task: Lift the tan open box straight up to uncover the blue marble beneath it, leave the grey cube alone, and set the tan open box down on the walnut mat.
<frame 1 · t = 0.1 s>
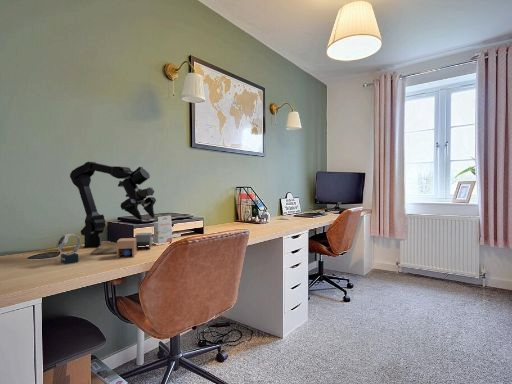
hand: (147, 218, 134), 15 cm above the table, tool tilted 30°, fingers open, 9 cm apart
blue marble: (126, 252, 124), point 2 cm above the table
ink cartridge box: (162, 244, 150), on the table
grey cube: (143, 248, 139), on the table
walnut mat: (107, 251, 131), on the table
tan open box: (126, 255, 124), on the table
watch: (69, 262, 113), on the table
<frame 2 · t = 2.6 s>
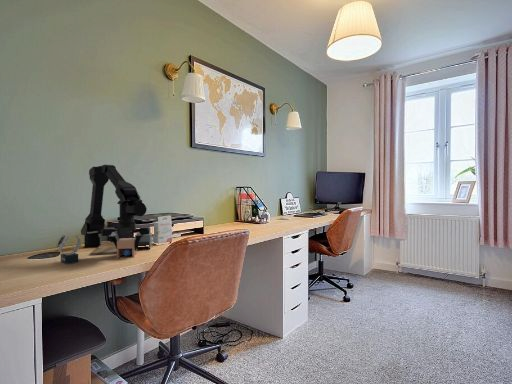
hand: (126, 251, 124), 2 cm above the table, tool pointing down, fingers closed on tan open box, 7 cm apart
tan open box: (126, 255, 124), on the table, touching gripper
everything else where it was.
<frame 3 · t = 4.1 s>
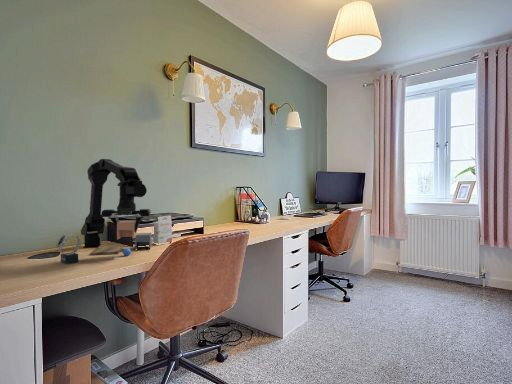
hand: (127, 232, 124), 10 cm above the table, tool pointing down, fingers closed on tan open box, 7 cm apart
tan open box: (127, 237, 124), point 8 cm above the table, touching gripper
everything else where it was.
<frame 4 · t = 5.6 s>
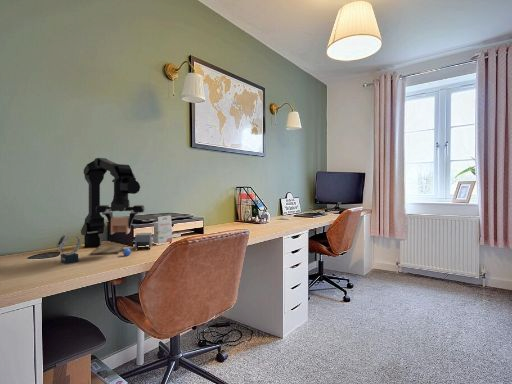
hand: (120, 228, 126), 11 cm above the table, tool pointing down, fingers closed on tan open box, 7 cm apart
tan open box: (120, 233, 126), point 9 cm above the table, touching gripper
everything else where it was.
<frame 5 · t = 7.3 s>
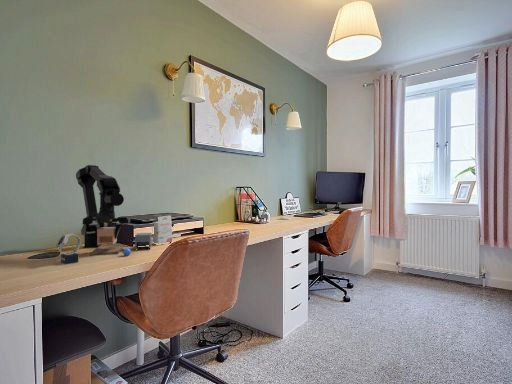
hand: (107, 239, 131), 6 cm above the table, tool pointing down, fingers closed on tan open box, 7 cm apart
tan open box: (107, 243, 131), point 4 cm above the table, touching gripper
everything else where it was.
when the fingers open (4 cm above the table, at t = 8.5 s): tan open box drops 2 cm, resting on walnut mat.
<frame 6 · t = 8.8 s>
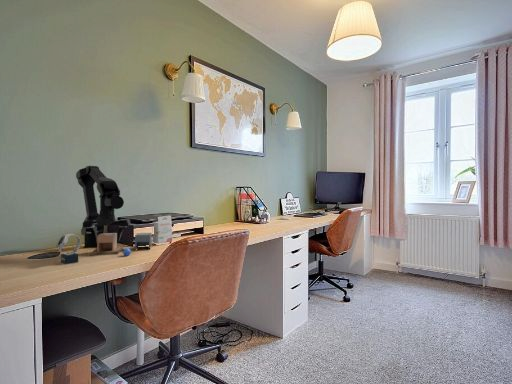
hand: (107, 241, 131), 4 cm above the table, tool pointing down, fingers open, 9 cm apart
tan open box: (107, 249, 131), point 1 cm above the table, touching walnut mat
everything else where it was.
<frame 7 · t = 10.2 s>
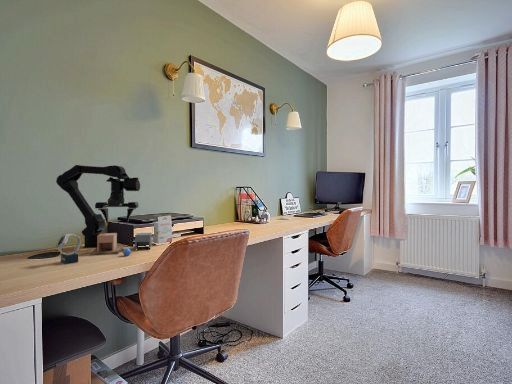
hand: (117, 222, 142), 12 cm above the table, tool pointing down, fingers open, 9 cm apart
nothing on the table moved.
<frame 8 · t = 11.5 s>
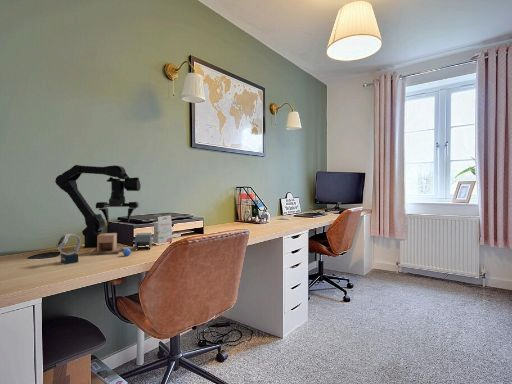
hand: (117, 222, 143), 12 cm above the table, tool pointing down, fingers open, 9 cm apart
nothing on the table moved.
at the end: tan open box 0.0 cm off-centre on the walnut mat, point 1.0 cm above the walnut mat's base; tan open box tilted 0°; blue marble moved 0.1 cm from its start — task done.
